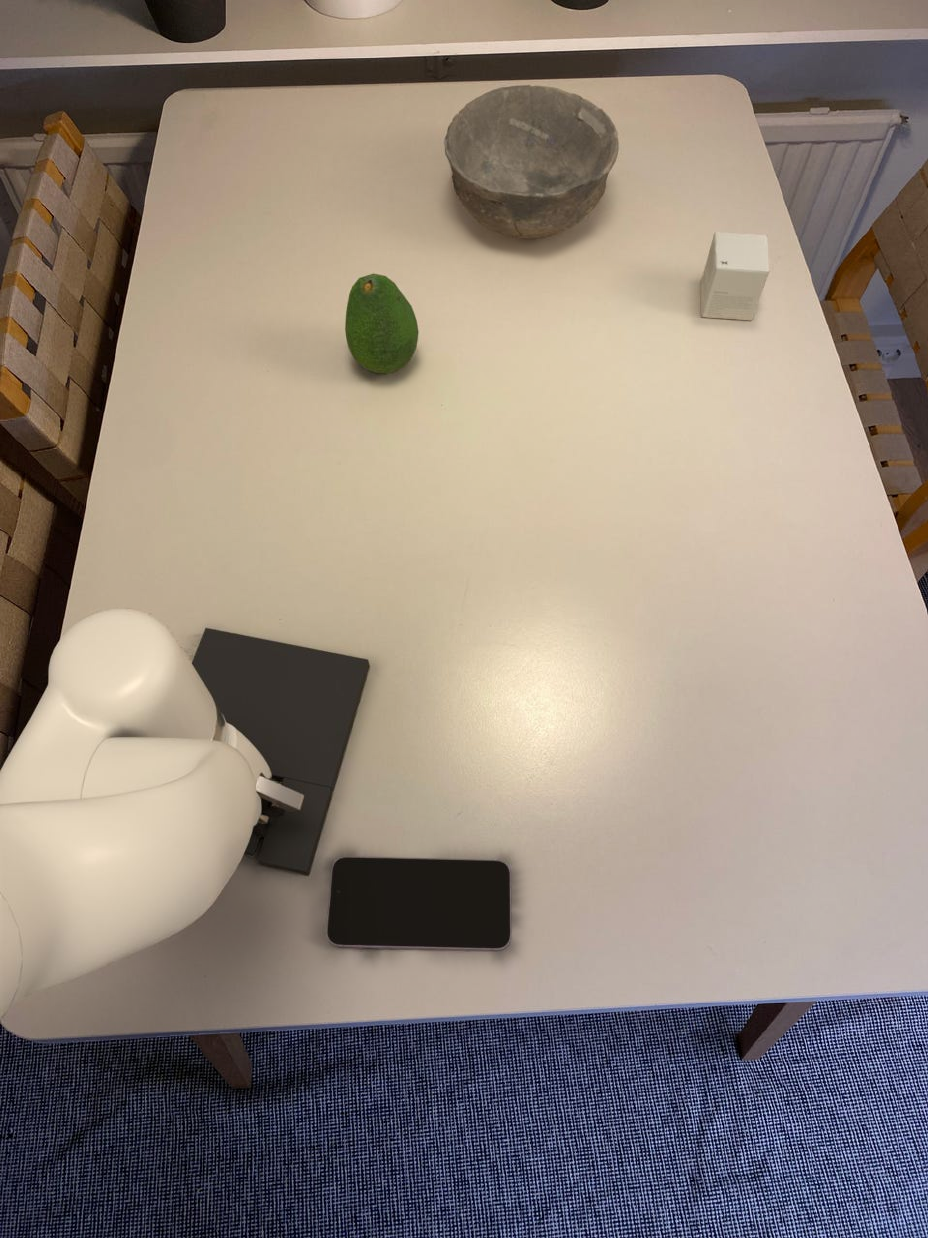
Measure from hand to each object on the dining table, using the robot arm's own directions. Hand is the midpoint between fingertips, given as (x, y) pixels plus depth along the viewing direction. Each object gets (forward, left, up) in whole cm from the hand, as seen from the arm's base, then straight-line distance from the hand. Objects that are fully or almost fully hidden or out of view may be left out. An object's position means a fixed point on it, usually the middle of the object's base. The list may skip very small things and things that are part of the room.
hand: (228, 810), depth 78 cm
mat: (+7, 0, -2) cm, 7 cm away
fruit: (+54, 0, -2) cm, 54 cm away
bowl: (+83, -11, -2) cm, 83 cm away
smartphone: (-4, -18, -2) cm, 18 cm away
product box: (+72, -37, -2) cm, 81 cm away
